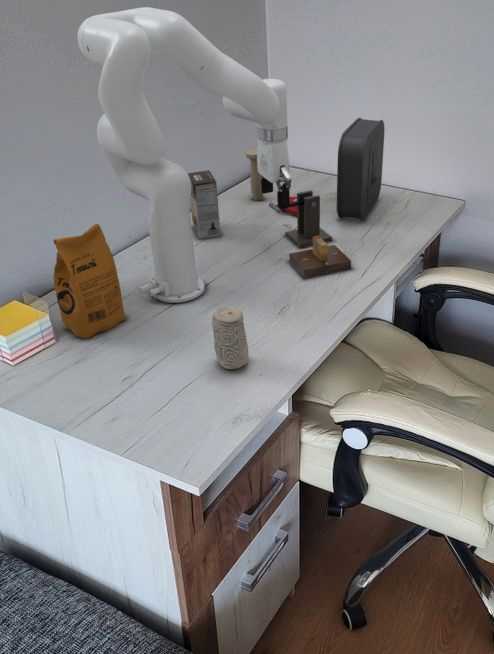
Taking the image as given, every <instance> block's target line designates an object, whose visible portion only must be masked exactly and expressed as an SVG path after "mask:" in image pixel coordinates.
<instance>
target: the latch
mask: <svg viewBox="0 0 494 654" xmlns="http://www.w3.org/2000/svg"><path fill="white" fill-rule="evenodd" d="M306 197H312V195H306V196H302V200H298V201H293V202H290V204H289V205H285V206H281V207H279V206H278V204H275V203H273V202H271V201H270V202H269V203H268V206H269V208H270V209H272V210H273V211H274V212H276V213H277V214H281V212H282V210H281V209H284V208H289V207H294V206H299V205H303V206H304V198H306Z"/></svg>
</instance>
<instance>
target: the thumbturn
mask: <svg viewBox="0 0 494 654" xmlns="http://www.w3.org/2000/svg"><path fill="white" fill-rule="evenodd" d="M328 246H329V244H328V242H325V241H324V240H323V239H322V238H321V237H320V236H319V235H318V236H313V245H312V249H313V254H314V255H315V256H316V257H317V258H318V259H319V260H320V261H321V262H322V261H327V258H328Z"/></svg>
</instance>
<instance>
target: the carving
mask: <svg viewBox="0 0 494 654" xmlns="http://www.w3.org/2000/svg"><path fill="white" fill-rule="evenodd" d="M244 319H245V317H244V314H243V312H242V310H241V309H239V308H238V307H236V306H226V307H221V308H218V309H216V310H215V311H214V312H213V314H212V316H211V326H212V334H213V344H214V351H215V355H216V359H217V362H218V363H219V365H220V366H221V367H223V368H224V369H227V370H235V369H240V368H242V367H244V366H245V365H246V364H247V363H248V362H249V345H248V339H247V333H246V329H245V325H244V324H245V323H244Z"/></svg>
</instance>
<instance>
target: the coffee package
mask: <svg viewBox="0 0 494 654" xmlns="http://www.w3.org/2000/svg"><path fill="white" fill-rule="evenodd" d="M53 245H55V248H56V250H57V252H56V259H55V260H56V262H55V265H54V269H53V276H52V277H53V287H54V291H55V295H56V301H57V305H58V308H59V314H60V317H61V322H62V323H63V324H64V327H65V328H66V329H67V330H70V331H71V332H72V333H73V334H74V335H75V336H76V337H78V338H81V339H85V340H87V339H89V338H91V337H93V336H94V335H96V334H97V333H99V332H102V331H109V330H111V329H113V328H114V327H115V326H117V325H118V324H119V323H121V322H122V321H124V320H126V313H125V308H124V302H123V295H122V289H121V284H120V280H119V276H118V268H117V266H116V262H115V258H114V255H113V253H112V251H111V248H110V247H109V245H108V243H107V240H106V237H105V234H104V231H103V229H102V227H101V225H99V224H98V223H94V224H93V225H91V226H90V227H89V228H88V229H87V230H86V231H85V232H83V234H81V235H75V236H68V237H61V238H53Z"/></svg>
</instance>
